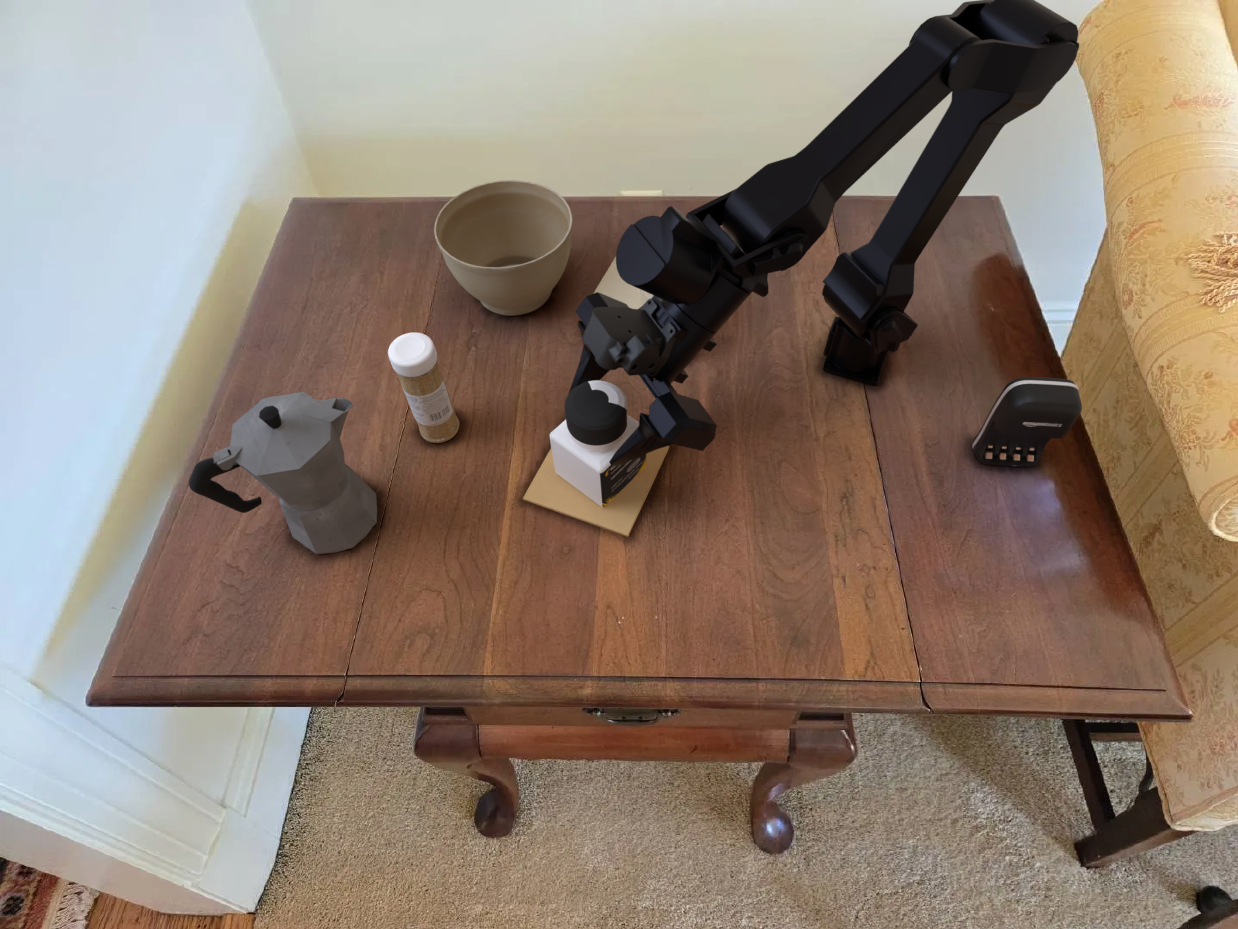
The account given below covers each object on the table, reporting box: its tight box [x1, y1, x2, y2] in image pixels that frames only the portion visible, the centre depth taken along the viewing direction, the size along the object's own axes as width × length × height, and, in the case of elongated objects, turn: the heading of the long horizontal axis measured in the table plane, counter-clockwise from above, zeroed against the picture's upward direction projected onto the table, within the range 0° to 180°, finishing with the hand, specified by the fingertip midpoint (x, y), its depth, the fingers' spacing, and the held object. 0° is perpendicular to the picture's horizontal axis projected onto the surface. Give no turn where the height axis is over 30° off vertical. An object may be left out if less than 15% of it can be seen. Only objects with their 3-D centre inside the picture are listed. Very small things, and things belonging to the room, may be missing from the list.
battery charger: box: [971, 376, 1083, 468], centre depth 79 cm, size 7×4×11 cm, turn 84°
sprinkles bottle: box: [387, 331, 460, 444], centre depth 82 cm, size 5×5×13 cm
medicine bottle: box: [549, 380, 646, 508], centre depth 78 cm, size 7×7×12 cm
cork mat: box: [522, 445, 670, 538], centre depth 83 cm, size 12×12×1 cm
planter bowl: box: [433, 179, 574, 317], centre depth 95 cm, size 16×16×11 cm
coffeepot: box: [188, 391, 378, 555], centre depth 74 cm, size 15×9×18 cm, turn 123°
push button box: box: [592, 256, 654, 309], centre depth 94 cm, size 13×11×6 cm
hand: (591, 430), depth 77 cm, fingers open, 9 cm apart
